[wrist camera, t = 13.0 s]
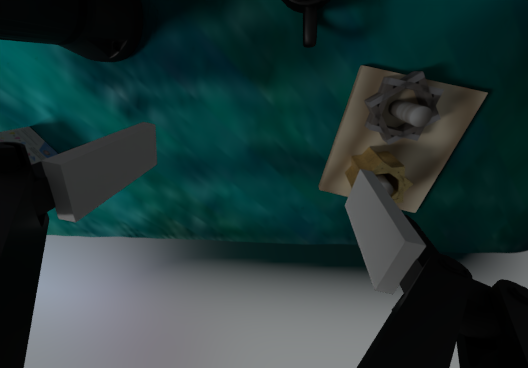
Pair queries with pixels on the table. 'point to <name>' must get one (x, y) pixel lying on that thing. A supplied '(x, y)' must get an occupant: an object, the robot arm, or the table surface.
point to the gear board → (404, 148)
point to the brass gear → (381, 170)
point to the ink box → (29, 143)
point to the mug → (307, 17)
